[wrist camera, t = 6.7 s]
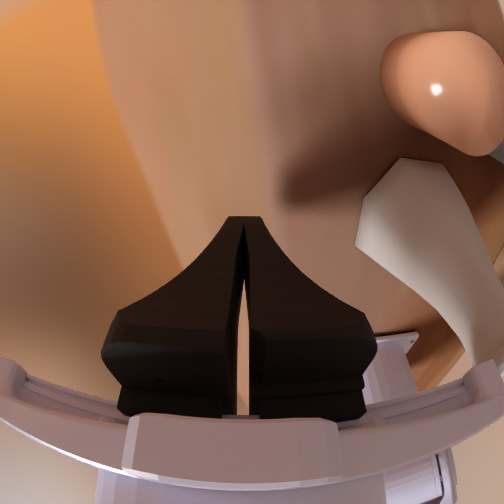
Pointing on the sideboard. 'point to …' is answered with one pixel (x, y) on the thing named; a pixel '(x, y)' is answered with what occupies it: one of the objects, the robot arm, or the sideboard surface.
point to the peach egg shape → (447, 88)
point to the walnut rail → (500, 266)
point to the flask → (436, 252)
